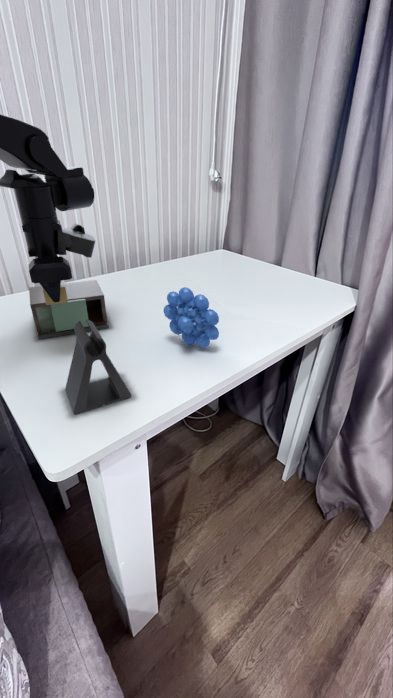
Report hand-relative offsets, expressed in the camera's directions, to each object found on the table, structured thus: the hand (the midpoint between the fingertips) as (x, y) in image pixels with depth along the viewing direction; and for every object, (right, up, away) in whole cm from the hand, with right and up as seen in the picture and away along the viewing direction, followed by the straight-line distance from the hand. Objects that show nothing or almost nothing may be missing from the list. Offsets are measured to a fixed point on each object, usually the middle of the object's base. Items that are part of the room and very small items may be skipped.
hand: (56, 300), depth 64 cm
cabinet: (0, -3, +9) cm, 9 cm away
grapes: (+26, -9, +2) cm, 27 cm away
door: (+1, -5, +4) cm, 7 cm away
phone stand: (+11, -17, -11) cm, 23 cm away
